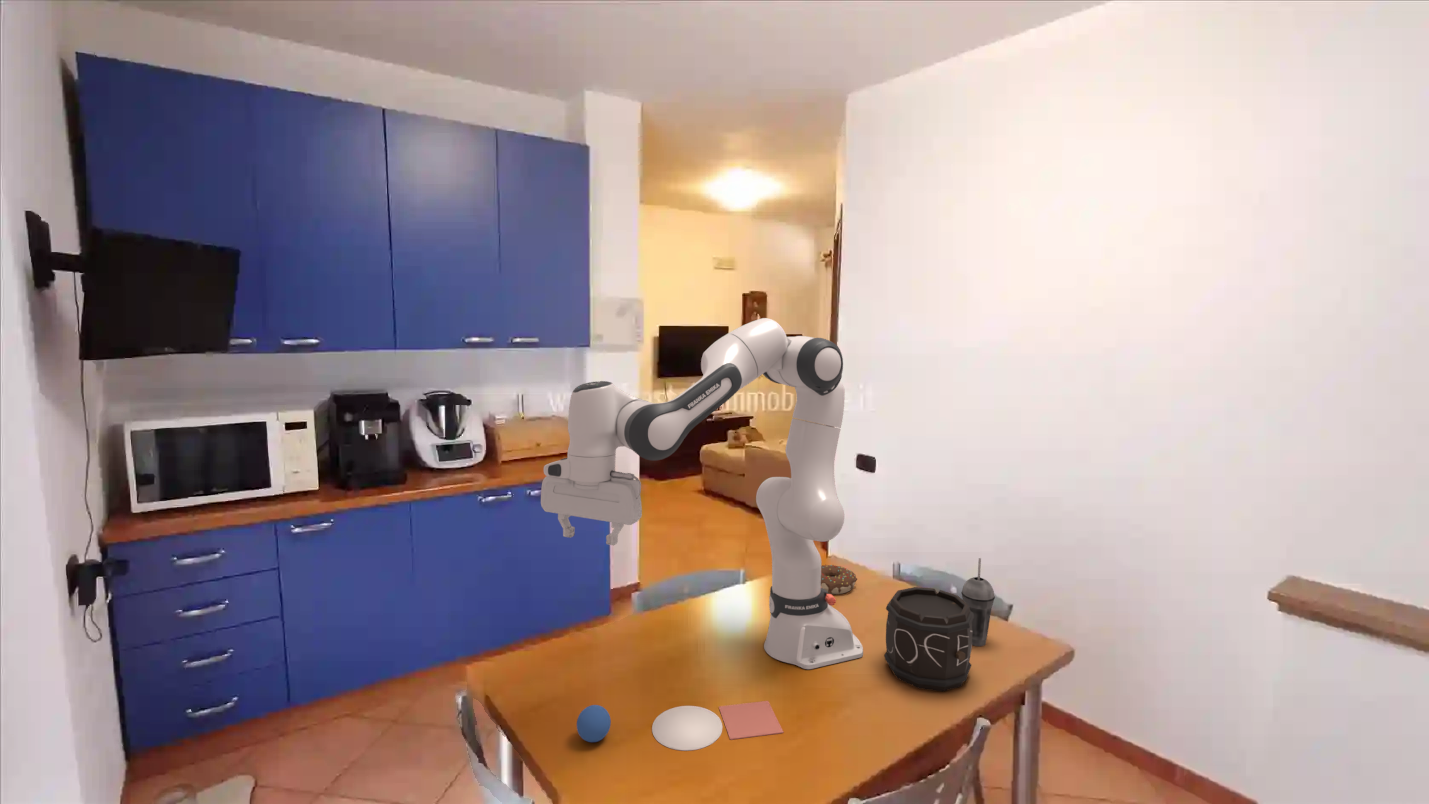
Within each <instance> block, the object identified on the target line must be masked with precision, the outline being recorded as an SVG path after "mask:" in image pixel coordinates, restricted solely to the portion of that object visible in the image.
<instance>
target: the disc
mask: <svg viewBox="0 0 1429 804" xmlns="http://www.w3.org/2000/svg"><path fill="white" fill-rule="evenodd" d="M651 732H652V734H653V737H654V739H655V740H656V741H657V742H658V743H659V744H660V745H662V746H664V747H666V748H668V749H671V750H676V751H681V752H682V751H684V752H685V751H686V752H687V751H688V752H689V751H696V750H697V751H698V750H701V749H704V748H706V747H709V746H710V745H712V744H714V743H715V742H716V741H717V740H718V739H719V738H720V737H721V735H722V733H723V722H722V720H721V718H720V717H719V715H717V714H716V713H715V712H713V711H711V710H710V709H707V708H705V707H701V706H695V705H681V706H675V707H673V708H669V709H667V710H665V711H662V713H660V714H659V715H658V716H657V717H656V718H655V719H654V721H653V723H652V727H651Z"/></svg>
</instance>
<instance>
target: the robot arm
mask: <svg viewBox="0 0 1429 804" xmlns="http://www.w3.org/2000/svg"><path fill="white" fill-rule="evenodd" d="M700 361H701V362H700V369H701V372H702V374H703V375H702V377H701V378H700V379H699V380H697V381H696V382H694V384H692V385H690V386H689V387H688V388H686V389H685V390H684V391H682V392H681V393H680V394H678V395H677V396H676V397H674V398H673V399H671V400H669V401H665V402H658V403H657V402H656V403H655V402H650V401H648V400H645V399H642V398H638V397H637V396H634V395H631V394H630V393H628V392H625V391H624V390H621V389H620V388H618V386H615V385H614V384H613V382H611V381H606V380H605V381H604V380H601V381H591V382H586V383H582V384H579V385H577V386H575V388H574V389H573V391H572V392H571V395H570V398H569V407H568V416H567V417H568V418H567V419H568V420H567V421H568V422H567V432H568V436H569V445H568V449H567V457H565V458H564V457H563V458H561V459H559V460H556V461H552V462H550V463H547V464H545V465H544V466H543V474H544V475H545V477H544V478H543V480H542V482H541V483H542V484H541V489H540V490H541V491H540V505H541V508H542V509H543V510H544V512H546V513H551V514H552V513H553V514H557V520H558V522H559V524H560V526H561V527H562V536H563V537H565V538H570V539H571V538H573V537H574V536H575V530H576V528H575V527H576V526H572V524H571V522H570V520H569V518H570V517H577V518H583V519H590V520H596V521H602V522H606V523H607V522H609V523H611V528H613V530H612V532H610V533H609V534H607V535H606V536H605V540H606V541H605V543H606V545H609V546H615V545H617V544H618V541H619V540H618V539H619V538H618V537H619V534H620V532H621V531H622V530H623V527H624V525H627V526H631V525H634V524H636V523H637V522H639V521H640V520H641V518H642V515H643V514H642V512H643V509H642V498H641V491H642V490H641V489H642V482H641V481H640V479H639V478H638V477H637V476H635V474H634V473H631V472H621V471H616V458H617V457H616V454H617V453H616V452H617V449H618V448H619V447H625V448H627V449H629V450H631V451H633V452H634V453H635V454H636V455H638V456H639V457H641V458H643V459H644V460H648V461H660V460H664V459H667V458H669V457H670V456H671V455H673V454H674V453H675V452H676V451H677V450H678V449H679V447H680V446H681V444H682V443H683V442H684V439H686V437H687V436H688V434H689V433H690V432H691V431H692V430H693V429H695V427H696V426H698V425H699V424H700V423H702V421H704V420H705V419H706V418H708V416H710V415H711V414H713V413H714V412H715V411H716V410H717V409H719V408H720V407H722V406H723V405H725V403H726V402H727V401H729V400H730V399H732V397H733V396H734V395H736V393H738V392H739V391H740V390H741V389H743V388H745V387H746V386H747V385H749V384H751V383H752V382H753V381H755V380H756V379H758V378H759V377H761V376H762V375H763V376H764V377H765V378H766V379H768V380H769V381H770V382H772V383H775V384H780V385H785V386H786V387H787V386H788V387H791V388H794V390H795V394H796V403H795V406H794V409H793V413H792V418H791V421H790V427H789V431H788V436H787V439H786V444H785V456H786V458H787V461H788V462H789V466H790V477H787V476H771V477H769V478H766V479H765V480H764V481H763V482H762V483H761V484H760V485H759V487H758V489H757V490H756V496H755V501H756V506H757V508H758V509H759V511H760V513H761V515H762V518H763V520H764V524H765V529H766V532H767V537H768V542H769V547H770V552H771V586H770V589H769V596H768V597H769V601H768V602H769V604H768V605H769V606H768V607H769V614H770V615H769V617H770V618H769V626H768V630H767V634H766V639H765V641H764V643H763V648H764V651H765V652H766V653H767V654H768V655H769V656H770V657H771V658H773V659H775V660H778V661H780V662H783V663H787V664H791V665H794V666H795V665H796V666H798V667H799V668H802V669H804V670H813V669H817V668H821V667H825V666H829V665H833V664H837V663H839V664H840V663H843V662H846V661H851V660H855V659H859V658H862V657H864V647H863V644H862V643H861V641H860V640H859V638H858V637H857V636H856V635H855V634H854V633H853V630H852V626H851V623H850V622H849V621H848V619H847V618H846V616H844V615H843V613H841V612H840V611H839V610H837V609H836V608H835V607H833V606H834V605H835V604H836V603H837V599H836V598H835V596H834V594H828V592H827V591H826V590H825V589H823V588H822V587H821V566H822V557H821V554H820V551H818V549H817V547H816V545H815V542H825V543H826V542H829V541H832V540H833V539H834V538H835V537H836V536H838V535H839V533H840V532H841V530H842V529H843V526H844V523H845V510H844V508H843V505H842V504H841V502H840V500H839V497H838V494H837V489H836V484H835V482H836V481H835V461H836V460H835V459H836V454H837V448H838V444H839V443H838V442H839V438H840V434H841V428H842V425H843V424H842V423H843V420H844V413H845V410H844V409H845V398H846V397H845V395H846V394H845V387H844V384H843V382H842V381H841V380H842V377H843V371H844V358H843V354H842V352H841V349H840V347H839V346H838V345H837V344H836V343H835V342H833V341H832V340H828V339H826V338H823V337H813V336H808V335H807V336H805V335H796V336H787V334H786V332H785V330H784V328H783V327H782V326H781V324H779V323H778V322H777V321H776V320H775V319H771V318H767V317H762V318H759V319H756V320H753V321H750V322H748V323H746V324H743V325H741V326H738V327H737V328H735V329H733V330H731V331H730V332H728V333H726V334H725V335H723V336H721V337H720V338H718V339H717V340H716V341H714V342H713V343H712V344H711V345H710V346H709V347H708V348H707V349H706V350H705V351H703V353H702V357H701V359H700ZM814 541H815V542H814Z"/></svg>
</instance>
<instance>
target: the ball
mask: <svg viewBox="0 0 1429 804" xmlns="http://www.w3.org/2000/svg"><path fill="white" fill-rule="evenodd" d="M611 722H612V720H611V715H610V713H609V712H608V710H607V709H606V708H605V707H603V705H602V706H601V705H598V704H592V705H588V706H586V707H585V708H584V709H582V711H581V712H580V713H579V715H578V717H577V721H576V731H577V733H578V735H579V737H580V738H581V739H582V740H584V741H586V742H588V743H597V742H600V741H602V740H603V739H604V738H605V737H606V736H607V735H608V733H609V732H610V729H611V725H612V724H611Z"/></svg>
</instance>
